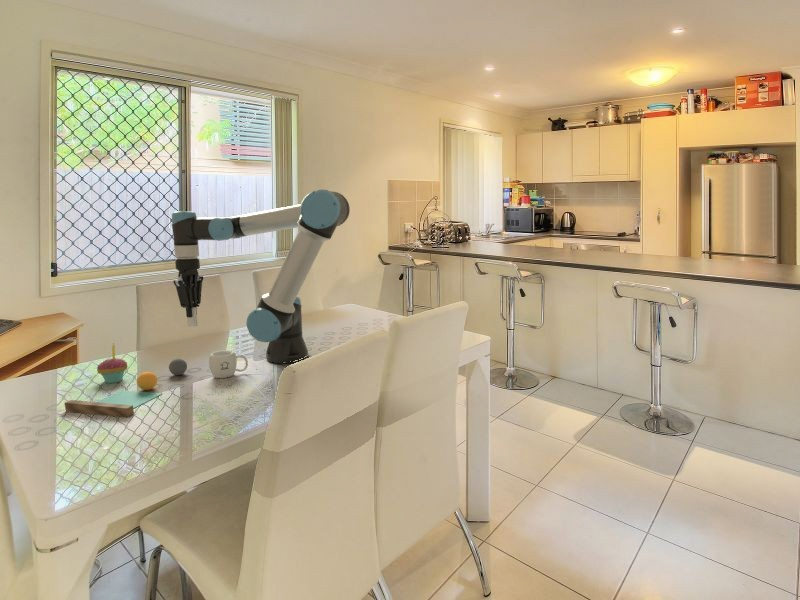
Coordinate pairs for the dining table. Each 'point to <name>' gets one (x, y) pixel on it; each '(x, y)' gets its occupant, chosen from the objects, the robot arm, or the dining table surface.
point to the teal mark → (130, 398)
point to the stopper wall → (99, 408)
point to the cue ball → (178, 366)
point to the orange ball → (147, 380)
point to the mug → (224, 363)
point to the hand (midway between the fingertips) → (192, 325)
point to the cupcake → (112, 368)
